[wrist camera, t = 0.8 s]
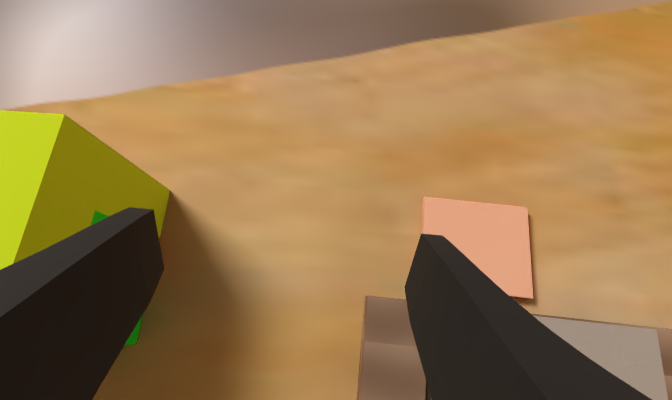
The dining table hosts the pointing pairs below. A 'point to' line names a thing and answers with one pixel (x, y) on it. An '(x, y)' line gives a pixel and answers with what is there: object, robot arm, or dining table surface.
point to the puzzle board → (403, 358)
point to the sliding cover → (617, 351)
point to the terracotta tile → (486, 239)
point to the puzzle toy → (63, 185)
